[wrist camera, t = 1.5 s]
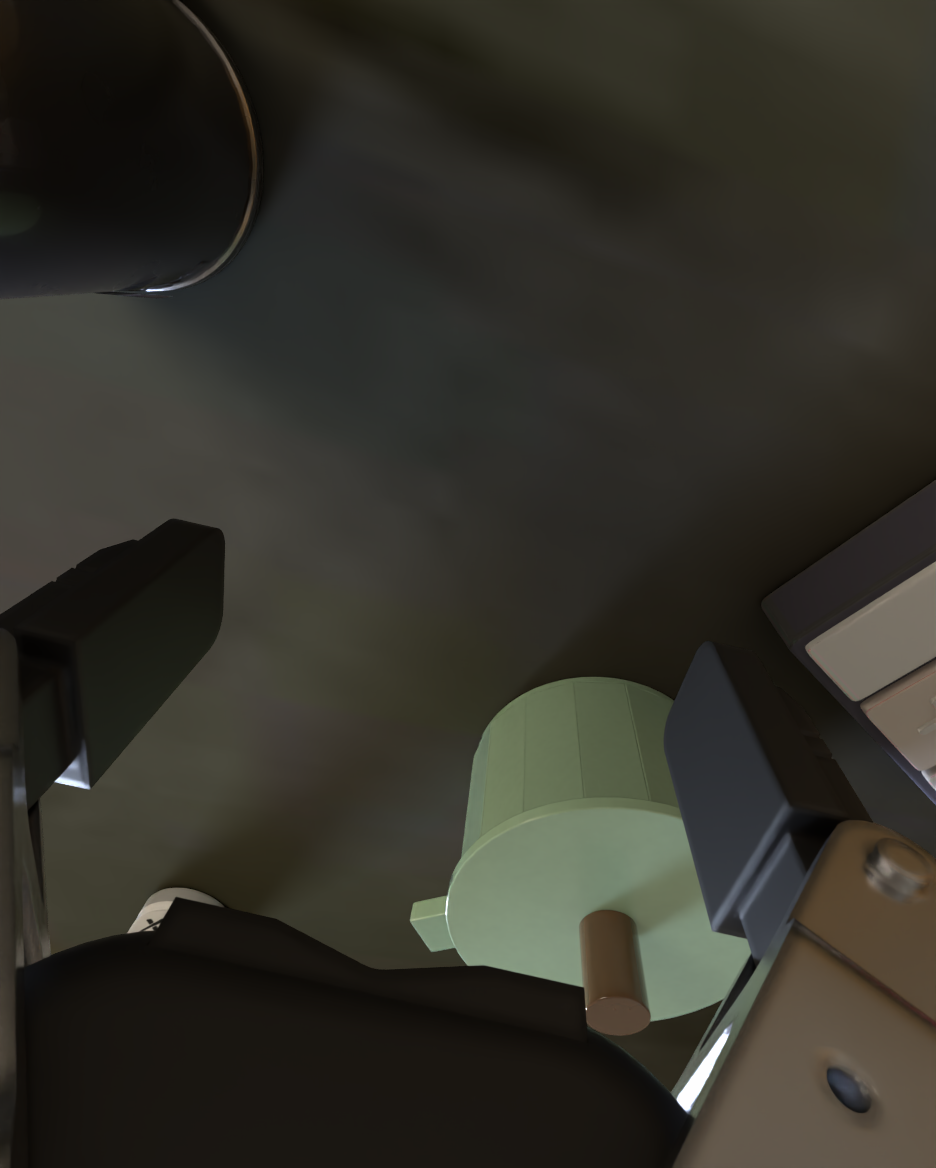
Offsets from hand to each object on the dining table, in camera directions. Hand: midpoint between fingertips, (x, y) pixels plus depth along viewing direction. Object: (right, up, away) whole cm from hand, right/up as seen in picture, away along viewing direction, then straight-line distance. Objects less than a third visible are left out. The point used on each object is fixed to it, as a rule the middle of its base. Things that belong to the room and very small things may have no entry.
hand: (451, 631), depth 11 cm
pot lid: (+6, -13, +16) cm, 22 cm away
